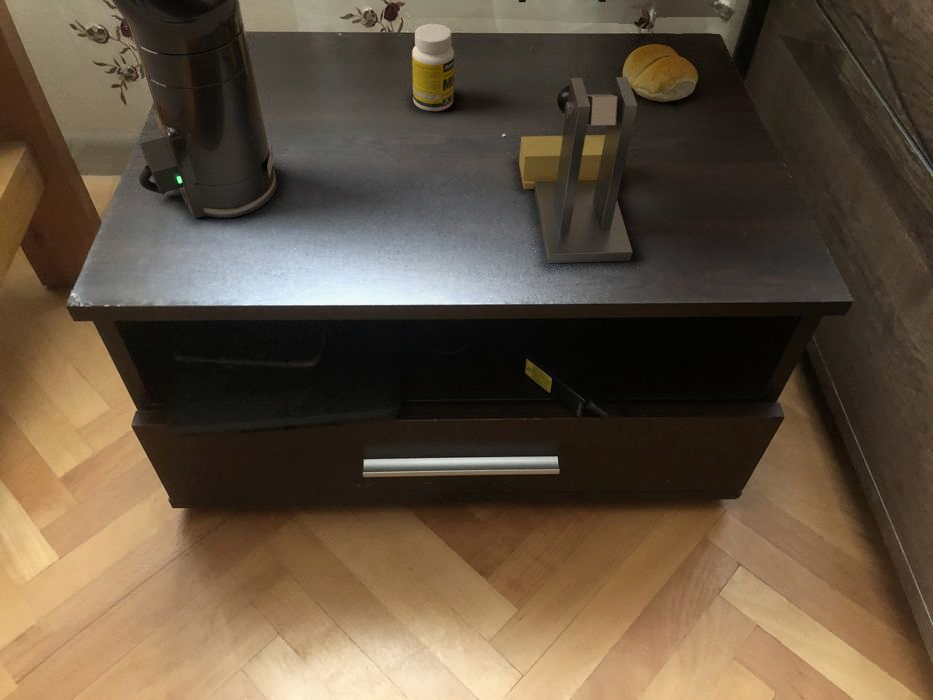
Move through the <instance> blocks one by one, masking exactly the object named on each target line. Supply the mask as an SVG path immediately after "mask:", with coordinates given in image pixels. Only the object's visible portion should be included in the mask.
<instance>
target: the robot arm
mask: <svg viewBox="0 0 933 700" xmlns="http://www.w3.org/2000/svg"><path fill="white" fill-rule="evenodd" d="M597 1H598V3H606V2H607V0H597ZM111 2H112V4H113V5H114V7H115V8H116V9H117V10H118V12H119V13H120V15H122V17H123V18H124V19H125V21H126V22H127V25H128V27H129V30H130V33H131V36H132V39H133V42H134V45H135V48H136V52H137V54H138V58H139V60H140V64H141V68H142V70H143V73H144V76H145V79H146V83H147V86H148V89H149V92H150V95H151V98H152V101H153V103H152V110H153V114H154V116H155V119H156V123H157V125H158V129H159V132H160V136H161V137H160V138H156V139H152V140H148V141H145V142H141V143H139V147H140V149H141V152H142V155H143V158H144V161H145V164H146V165H145V166H144V168H143V170H141V172H140V174H139V176H138V180H139V184H140V185H141V187H142V188H144V189H145V190H148V191H149V192H154V193H157V194H161V195H166V193H169V192H172V191H176V190H178V189H179V191H180V193H181V197H182V199H183V201H184V203H185V205H186V206H187V207H188V209H189V212H190V214H191V215H192V217H193V218H194V219H199V218H202V217H209V218H218V219H219V218H220V219H221V218H223V219H224V218H225V219H226V218H233V217H234V218H235V217H239V216H243V215H247V214H249V213H252V212H254V211H256V210H259V209H260V208H261V207H263V206H264V205H265V204H267V203H268V202H269V201H270V200H271V199H272V197H273V196H274V194H275V192H276V190H277V186H278V185H277V183H278V182H277V178H276V177H277V176H276V173H275V172H276V171H275V169H274V164H273V163H274V159H275V155H274V151H273V150H274V149H273V146H271V147H270V146H269V142H268V137H267V133H266V128H265V123H264V118H263V113H262V107H261V102H260V98H259V94H258V88H257V83H256V79H255V73H254V69H253V64H252V58H251V54H250V49H249V48H250V47H249V45H248V44H249V43H248V38H247V33H246V28H245V24H244V19H243V14H242V8H241V4H240V0H111ZM526 2H527V0H518V3H526ZM269 147H270V148H269ZM151 177H152V179H153V181H154V182H153V181H151V180H150V179H151Z"/></svg>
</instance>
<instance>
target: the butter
mask: <svg viewBox="0 0 933 700" xmlns="http://www.w3.org/2000/svg"><path fill="white" fill-rule="evenodd" d="M562 138H563V135H535V136H534V135H531V136H526V135H525V136H521V138H520V148H519V159H518V165H519V171H520V177H521V182H522V186H523V187H522V188H523V190H534V182H535V181H556V180H557V173H558V166H559V159H560V152H561V145H562ZM604 139H605V134H592V135H591V134H590V135H589V134H588V135H587V134H586V136H585V142H584V148H583V154H582V160H581V166H580V172H579V178H578V180H597V177H598V171H599V166H600V161H601V155H602V150H603V145H604Z"/></svg>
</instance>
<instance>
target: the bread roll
mask: <svg viewBox="0 0 933 700" xmlns="http://www.w3.org/2000/svg"><path fill="white" fill-rule="evenodd" d="M622 77H627V78H628V81H629V83H630V86H631V89H632V90H633V91H634V92H635V93H636V94H637V95H638V96H640V97H641V98H644V99H647V100H649V101H655V102H661V103H666V102H673V101H679V100H682V99H685V98H687V97H689V96H690V95H691V94H692V93H693V92H694V91H695V88H696V85H697V83H698V80H699V74H698V71H697V68H696V67H695V66H694V64H692V63H691V62H690V61H689V60H688V59H686V58H685V57H682V56H680V55H679V54H678V53H677V51H675V49H674V48H672V47H671V46H668V45H665V44H659V43H653V44H652V43H651V44H646V45H642V46H640V47H637V48H636V49H634V50H633V51H632V52H631V53H630V54H629V55H628V56H627V58H626V59H625V62H624V64H623V69H622Z"/></svg>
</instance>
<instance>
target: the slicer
mask: <svg viewBox="0 0 933 700" xmlns="http://www.w3.org/2000/svg"><path fill="white" fill-rule="evenodd" d="M569 84H570V88H569V95H568V102H566V104H565V114H564V122H563V123H564V125H563V131H562V136H563V138H562V145H561V152H560V159H559V166H558V173H557V180H556V181H535V182H534V189H533V194H534V200H535V205H536V209H537V215H538V220H539V225H540V231H541V236H542V241H543V247H544V251H545V255H546V261H547V264H567V263H568V264H569V263H571V264H573V263H600V262H601V263H602V262H603V263H604V262H605V263H606V262H630V261H631V259H632V256H633V248H632V246H631V242H630V239H629V236H628V231H627V229H626V225H625V221H624V219H623V214H622V211H621V208H620V206H619V201H618V197H619V193H620V188H621V184H622V179H623V175H624V169H625V165H626V161H627V155H628V151H629V147H630V142H631V137H632V132H633V128H634V124H635V119H636V114H637V111H638V103H637V100H636V97H635V94H634V92H633V89H631V86H630V83H629V81H628V78H627V77H623V76H618V77H615V81H614V87H613V93H612V95H614V96H617V113H616V125H611V126H606V130H605V134H604V135H605V139H604V145H603V150H602V155H601V161H600V166H599V171H598V177H597V180H578V178H579V172H580V166H581V160H582V154H583V148H584V142H585V136H586V135H587V130H588V118H589V112H590V103H589V100H588V97H587V93H586V90H587V89H586V87H585V84H584V81H583V78H582V77H571V78H570V80H569ZM585 89H586V90H585Z"/></svg>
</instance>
